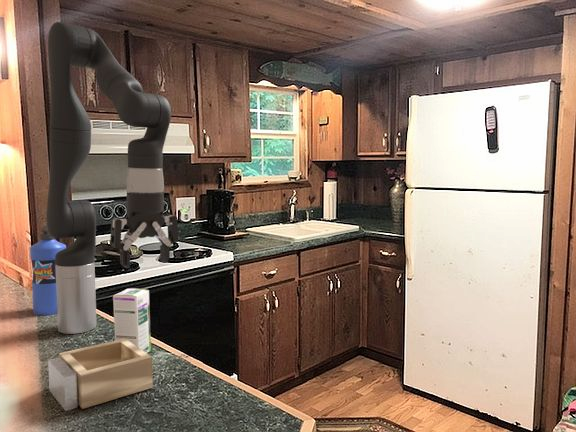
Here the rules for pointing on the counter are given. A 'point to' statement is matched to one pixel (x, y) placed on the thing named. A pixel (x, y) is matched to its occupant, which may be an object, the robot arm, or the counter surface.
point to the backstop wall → (63, 383)
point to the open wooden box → (109, 371)
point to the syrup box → (133, 317)
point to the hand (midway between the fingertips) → (145, 264)
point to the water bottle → (44, 273)
